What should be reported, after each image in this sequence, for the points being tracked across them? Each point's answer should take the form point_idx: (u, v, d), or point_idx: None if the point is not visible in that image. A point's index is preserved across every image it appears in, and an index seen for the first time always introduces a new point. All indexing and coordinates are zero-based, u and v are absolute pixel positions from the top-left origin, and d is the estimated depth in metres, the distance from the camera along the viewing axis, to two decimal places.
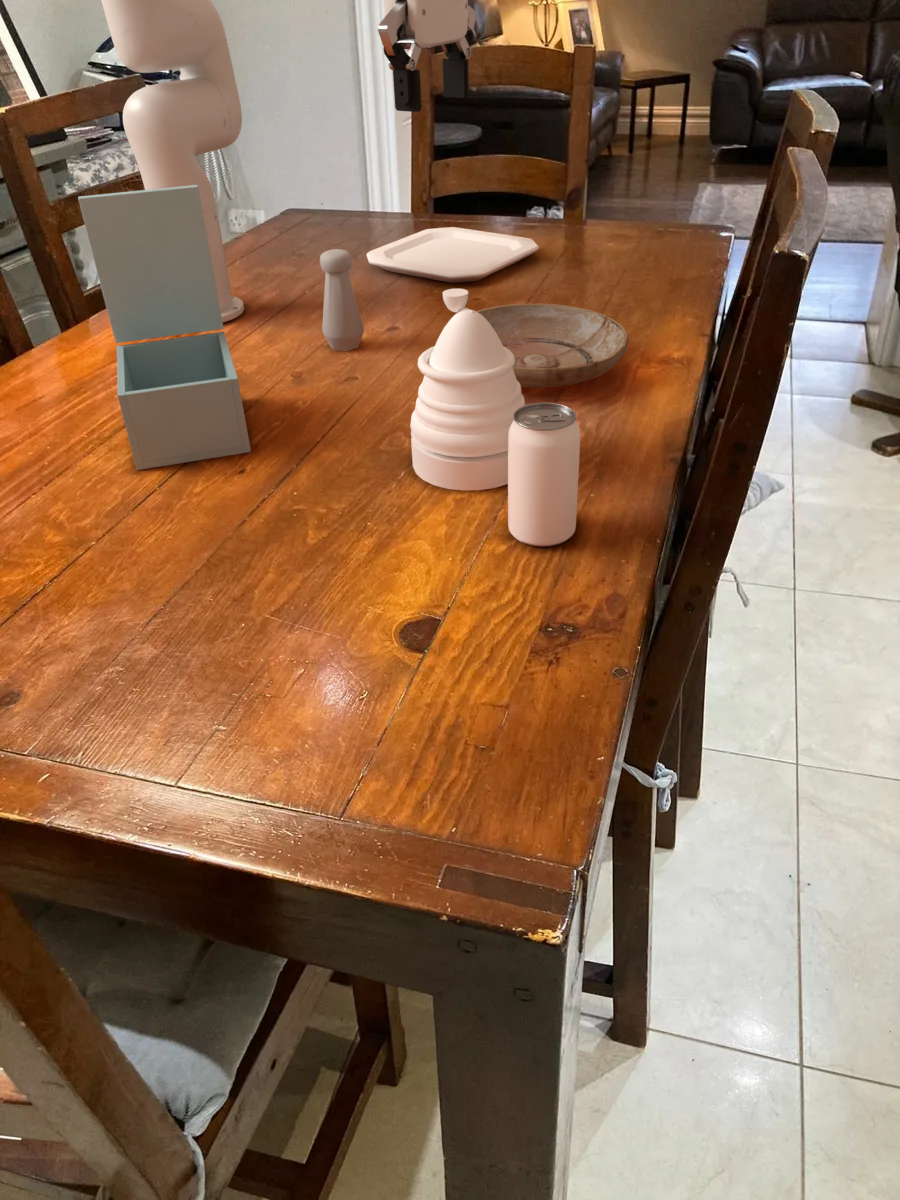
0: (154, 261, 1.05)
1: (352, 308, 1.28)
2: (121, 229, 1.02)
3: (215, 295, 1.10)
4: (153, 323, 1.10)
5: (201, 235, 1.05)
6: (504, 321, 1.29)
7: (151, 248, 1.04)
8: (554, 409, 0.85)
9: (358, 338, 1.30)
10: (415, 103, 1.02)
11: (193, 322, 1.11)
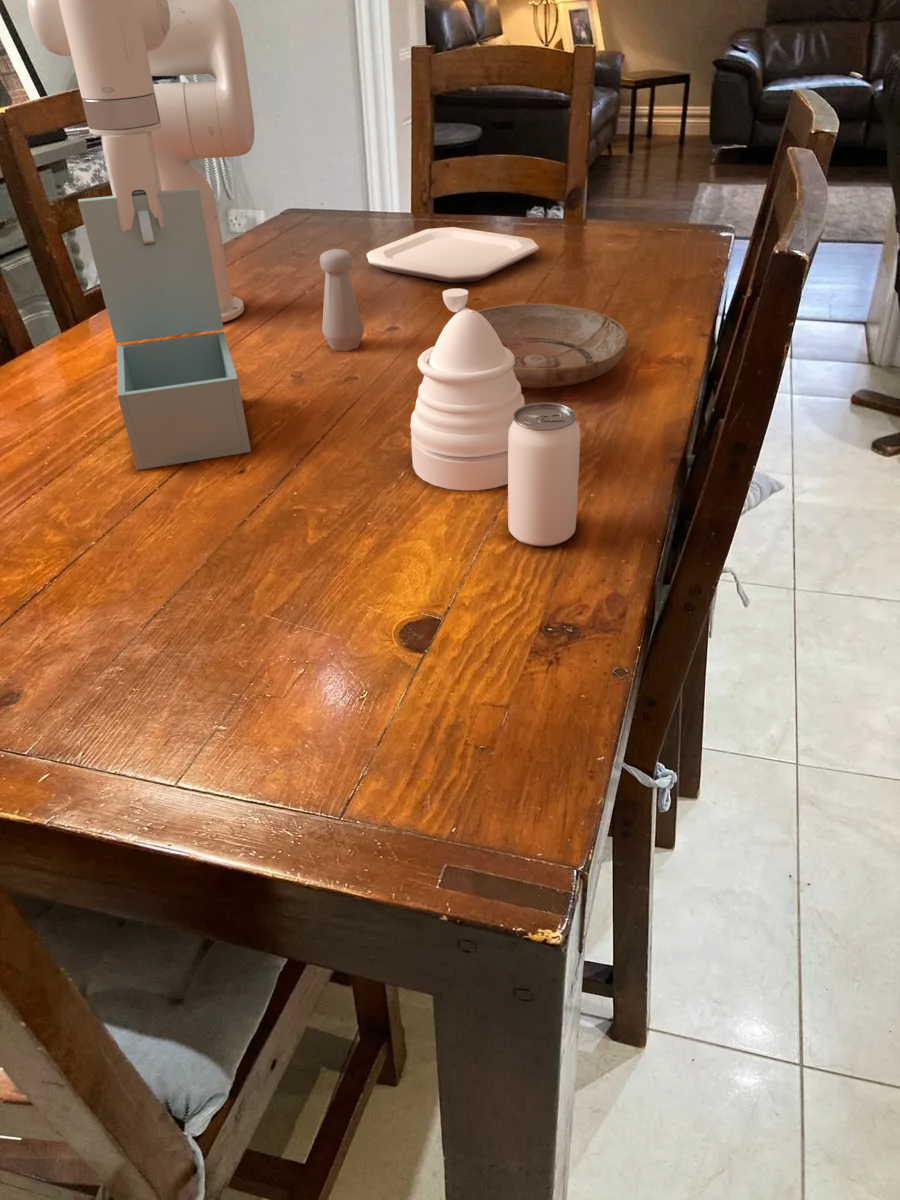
0: (154, 263, 1.05)
1: (352, 308, 1.28)
2: (121, 232, 1.02)
3: (215, 296, 1.10)
4: (154, 324, 1.10)
5: (202, 237, 1.05)
6: (504, 321, 1.29)
7: (151, 250, 1.04)
8: (554, 409, 0.85)
9: (358, 338, 1.30)
10: None
11: (193, 322, 1.11)
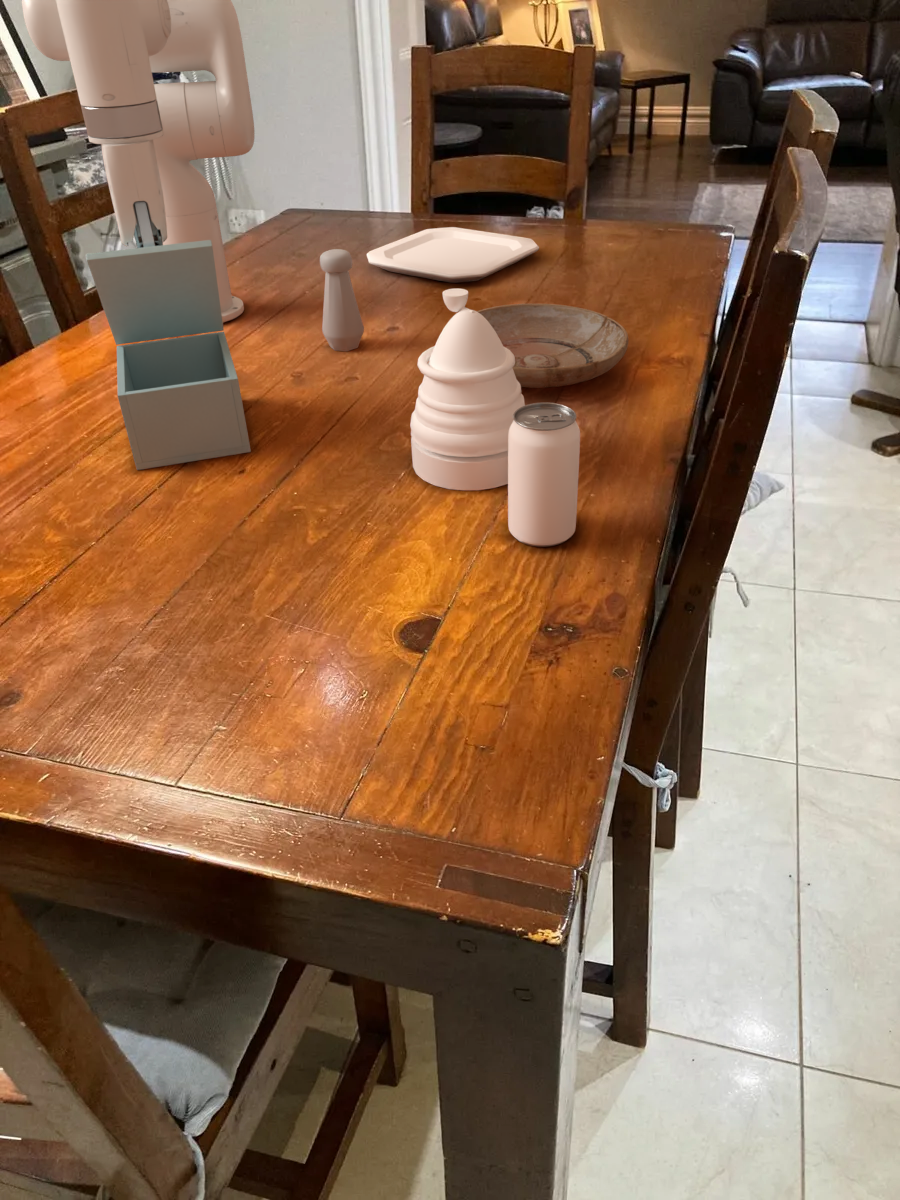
0: (160, 294, 1.03)
1: (352, 308, 1.28)
2: (129, 277, 0.99)
3: (219, 311, 1.09)
4: (155, 331, 1.09)
5: (211, 276, 1.02)
6: (504, 321, 1.29)
7: (158, 287, 1.01)
8: (554, 409, 0.85)
9: (358, 338, 1.30)
10: None
11: (194, 328, 1.11)
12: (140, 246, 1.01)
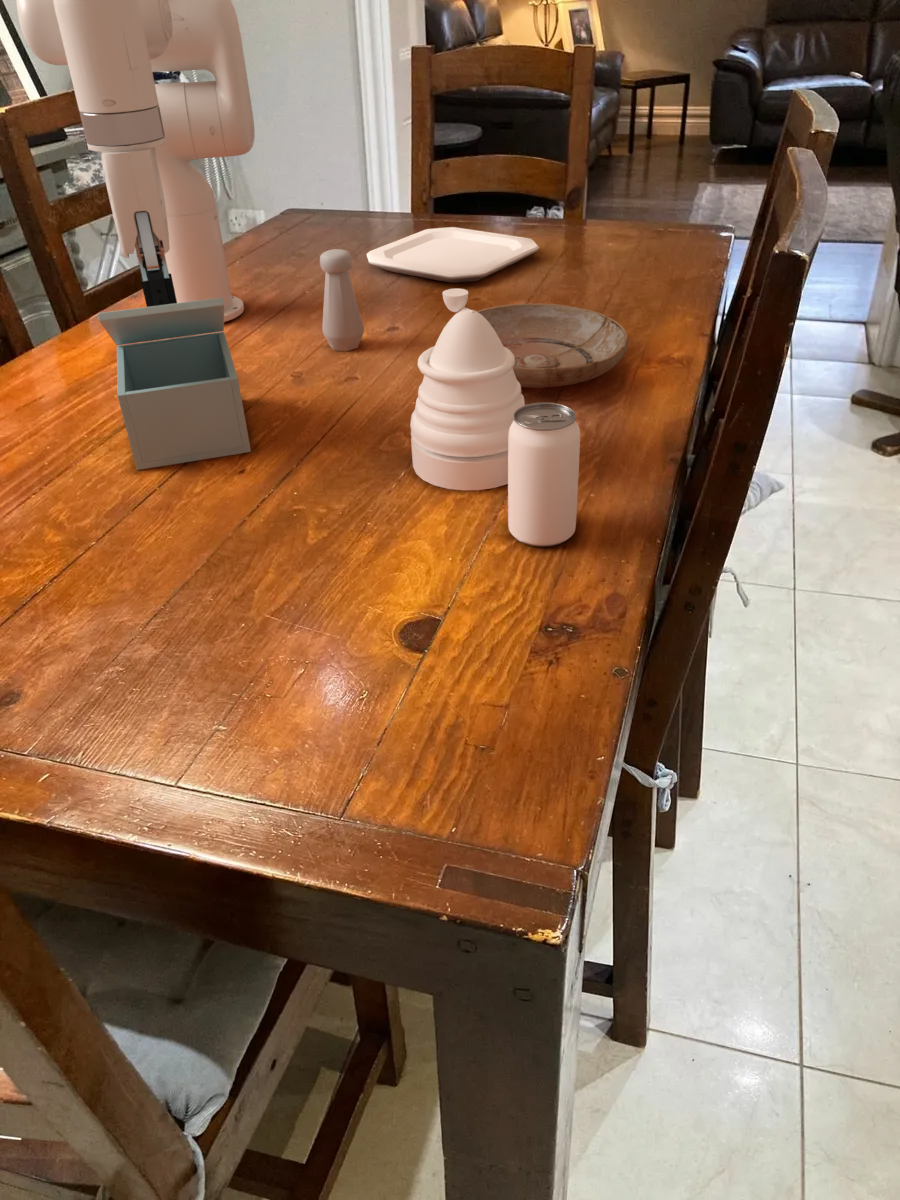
0: (167, 325, 1.03)
1: (352, 308, 1.28)
2: (138, 322, 0.99)
3: (221, 325, 1.09)
4: (156, 337, 1.09)
5: (219, 314, 1.02)
6: (504, 321, 1.29)
7: (166, 323, 1.01)
8: (554, 409, 0.85)
9: (358, 338, 1.30)
10: None
11: (195, 333, 1.11)
12: (141, 257, 0.97)
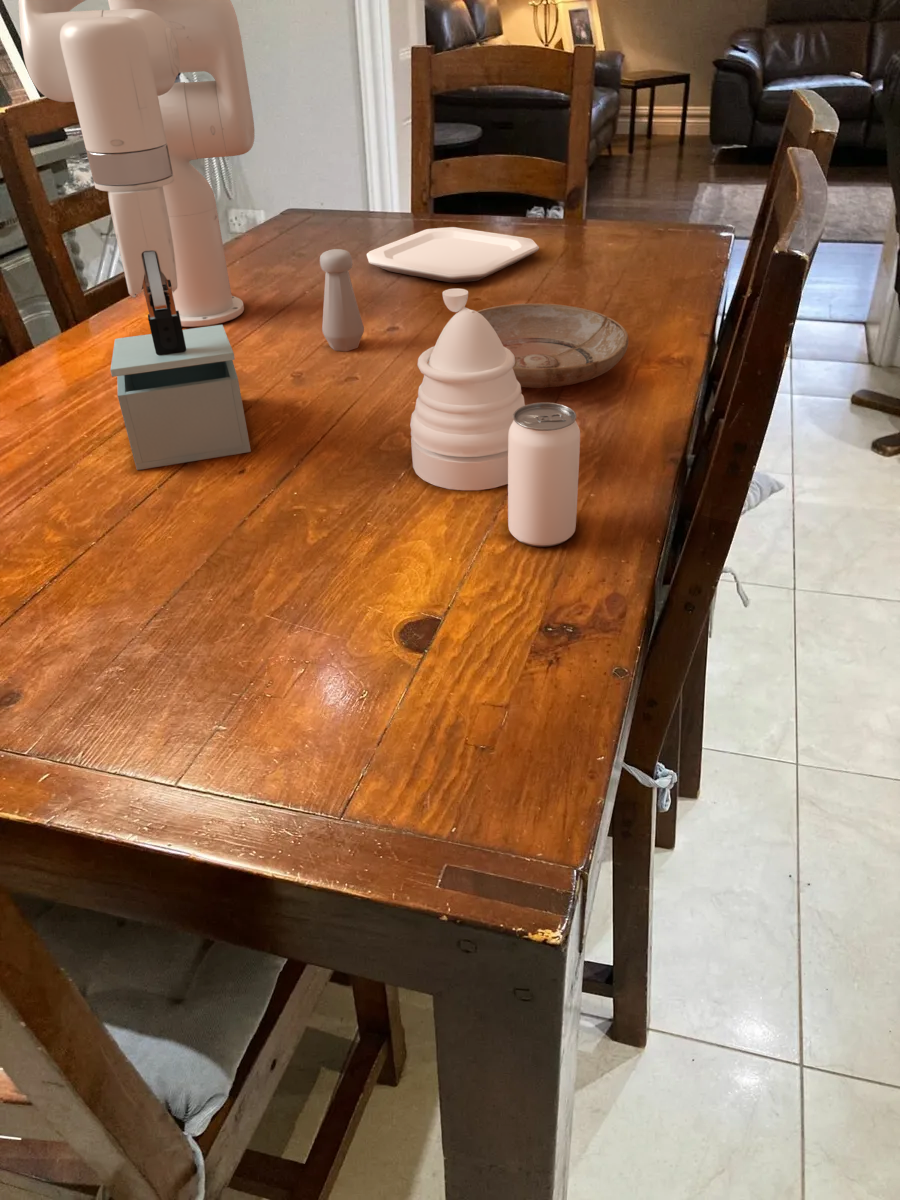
0: None
1: (352, 308, 1.28)
2: None
3: None
4: None
5: None
6: (504, 321, 1.29)
7: None
8: (554, 409, 0.85)
9: (358, 338, 1.30)
10: (181, 344, 1.00)
11: None
12: (148, 296, 0.95)
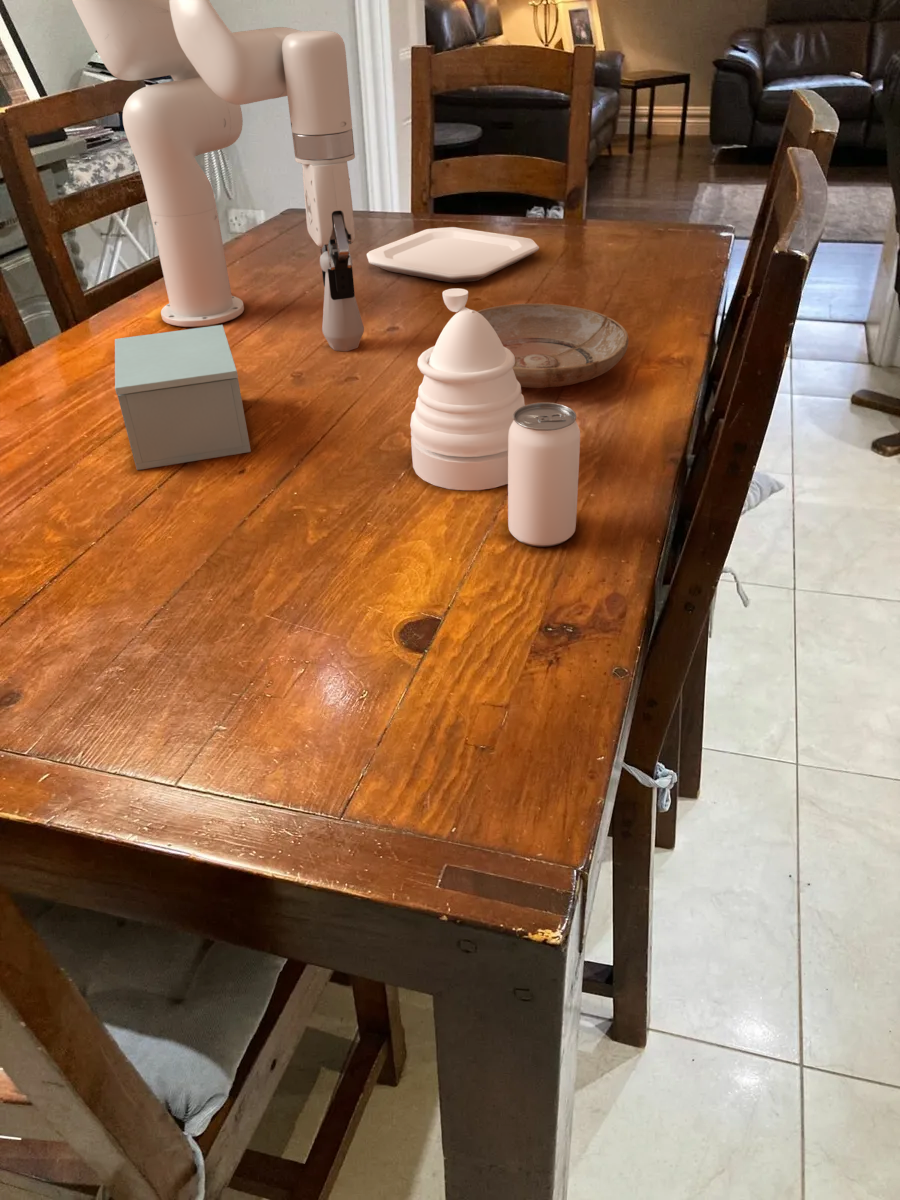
0: None
1: (352, 308, 1.28)
2: None
3: None
4: None
5: None
6: (504, 321, 1.29)
7: None
8: (554, 409, 0.85)
9: (358, 338, 1.30)
10: (351, 291, 1.25)
11: None
12: (331, 248, 1.21)
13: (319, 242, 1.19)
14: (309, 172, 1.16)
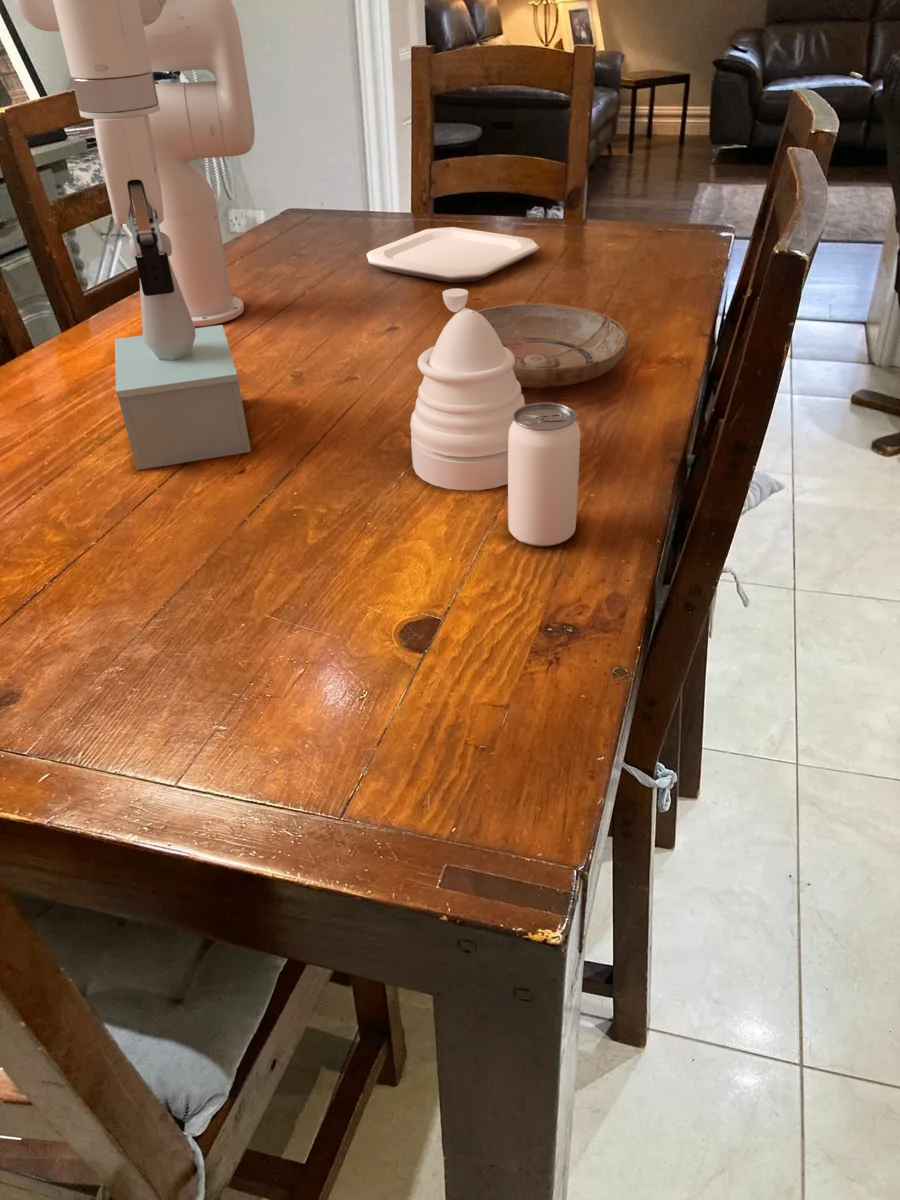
0: None
1: (175, 307, 1.01)
2: None
3: None
4: None
5: None
6: (504, 321, 1.29)
7: None
8: (554, 409, 0.85)
9: (187, 344, 1.03)
10: (169, 285, 0.98)
11: None
12: (135, 229, 0.94)
13: (115, 221, 0.92)
14: (95, 129, 0.89)
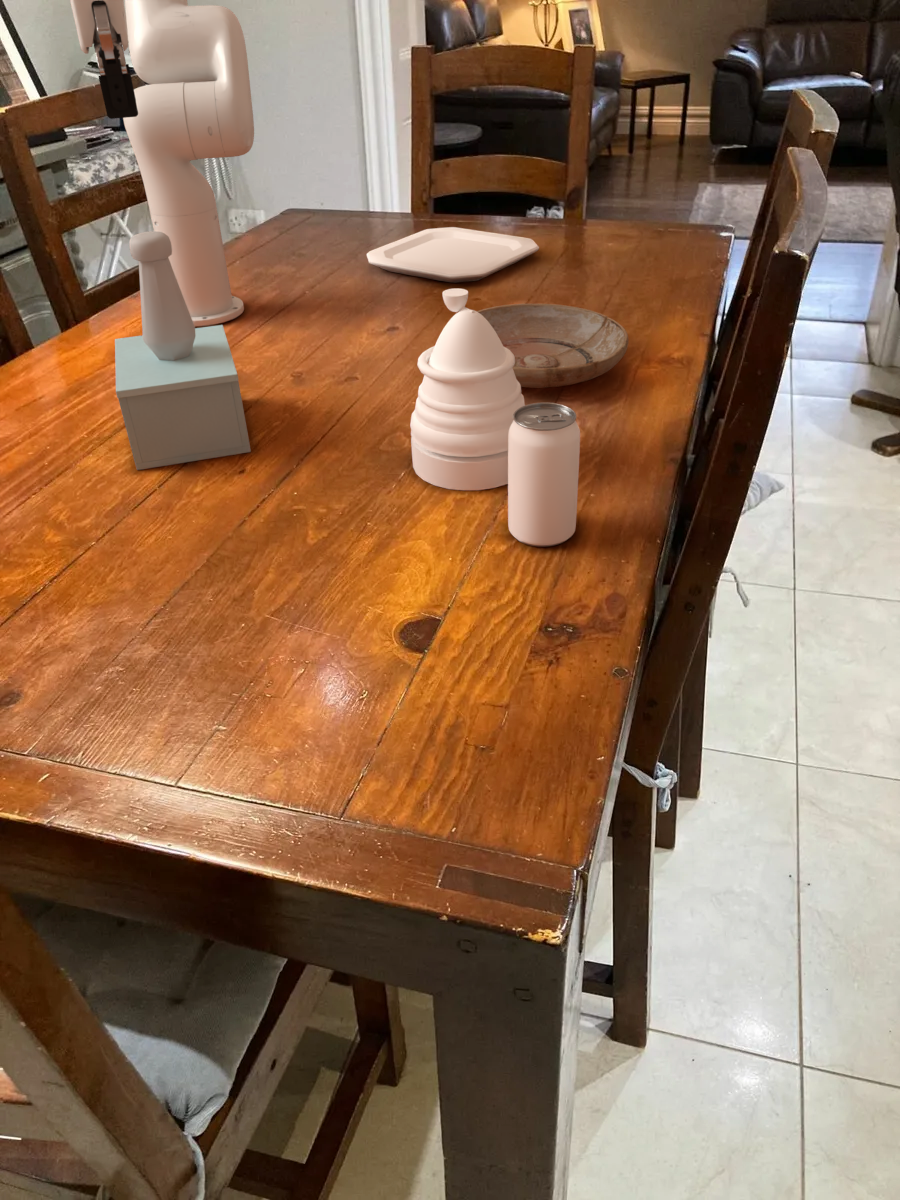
0: None
1: (175, 307, 1.01)
2: None
3: None
4: None
5: None
6: (504, 321, 1.29)
7: None
8: (554, 409, 0.85)
9: (187, 344, 1.03)
10: (133, 108, 0.99)
11: None
12: (98, 46, 0.96)
13: (81, 44, 0.96)
14: None
